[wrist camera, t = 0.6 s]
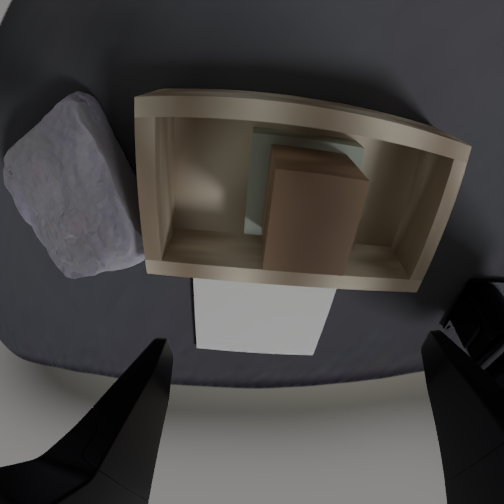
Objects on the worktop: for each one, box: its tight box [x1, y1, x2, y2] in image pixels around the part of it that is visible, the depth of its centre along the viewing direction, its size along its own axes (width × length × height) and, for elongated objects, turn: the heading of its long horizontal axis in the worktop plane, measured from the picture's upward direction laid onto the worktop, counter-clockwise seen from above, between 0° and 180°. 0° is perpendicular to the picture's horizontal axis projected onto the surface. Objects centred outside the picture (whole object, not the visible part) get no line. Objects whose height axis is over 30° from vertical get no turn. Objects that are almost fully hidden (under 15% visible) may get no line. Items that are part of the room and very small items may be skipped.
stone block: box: [3, 91, 145, 279], centre depth 18 cm, size 12×5×10 cm
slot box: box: [134, 88, 472, 292], centre depth 17 cm, size 17×10×4 cm, turn 85°
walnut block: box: [262, 144, 370, 276], centre depth 15 cm, size 4×5×4 cm
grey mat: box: [193, 278, 336, 355], centre depth 25 cm, size 11×11×1 cm
